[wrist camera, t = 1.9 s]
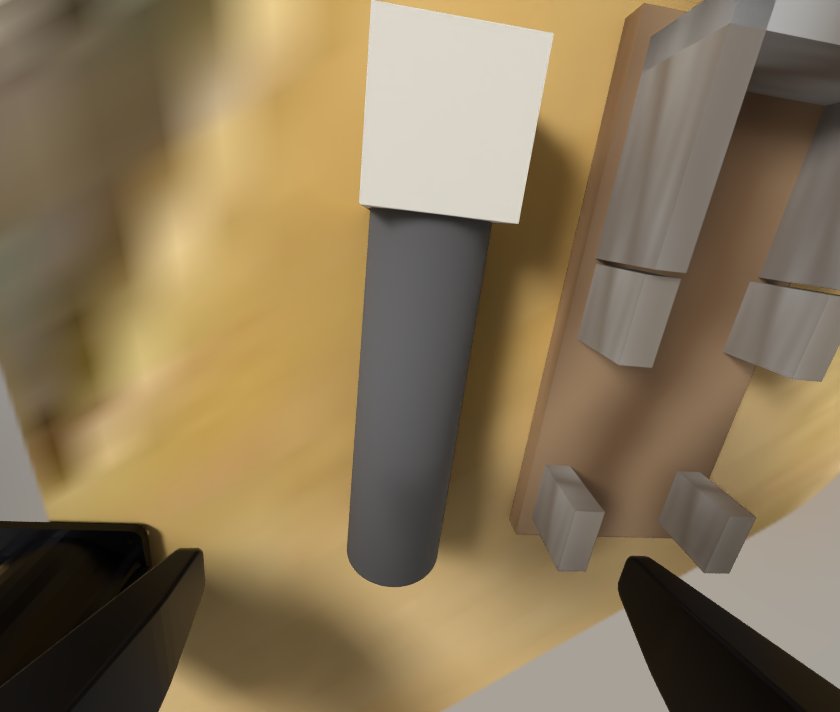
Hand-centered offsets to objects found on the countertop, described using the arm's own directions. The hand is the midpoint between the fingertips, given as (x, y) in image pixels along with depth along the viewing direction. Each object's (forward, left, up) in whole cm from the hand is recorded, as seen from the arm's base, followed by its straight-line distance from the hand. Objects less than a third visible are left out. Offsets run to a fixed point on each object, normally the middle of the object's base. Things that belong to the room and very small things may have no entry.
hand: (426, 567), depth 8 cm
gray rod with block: (0, +2, -9) cm, 10 cm away
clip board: (+11, +4, -9) cm, 15 cm away
